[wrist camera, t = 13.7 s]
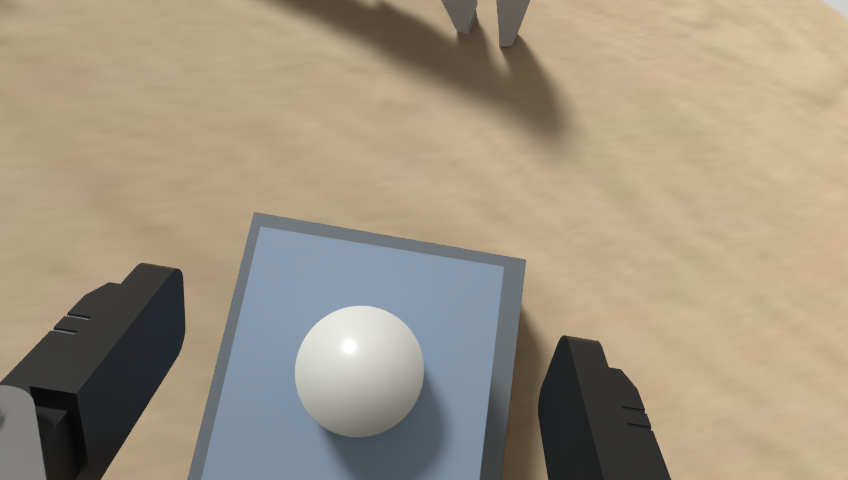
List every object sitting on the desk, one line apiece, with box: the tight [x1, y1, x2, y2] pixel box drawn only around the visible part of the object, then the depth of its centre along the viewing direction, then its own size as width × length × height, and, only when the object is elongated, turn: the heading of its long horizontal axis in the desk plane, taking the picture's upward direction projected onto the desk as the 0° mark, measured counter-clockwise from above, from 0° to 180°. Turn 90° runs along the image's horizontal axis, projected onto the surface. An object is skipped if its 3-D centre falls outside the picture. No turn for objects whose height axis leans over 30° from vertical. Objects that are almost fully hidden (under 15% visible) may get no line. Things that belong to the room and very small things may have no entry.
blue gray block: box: [201, 226, 504, 480], centre depth 14 cm, size 4×4×11 cm
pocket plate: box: [188, 212, 526, 480], centre depth 18 cm, size 9×8×3 cm
